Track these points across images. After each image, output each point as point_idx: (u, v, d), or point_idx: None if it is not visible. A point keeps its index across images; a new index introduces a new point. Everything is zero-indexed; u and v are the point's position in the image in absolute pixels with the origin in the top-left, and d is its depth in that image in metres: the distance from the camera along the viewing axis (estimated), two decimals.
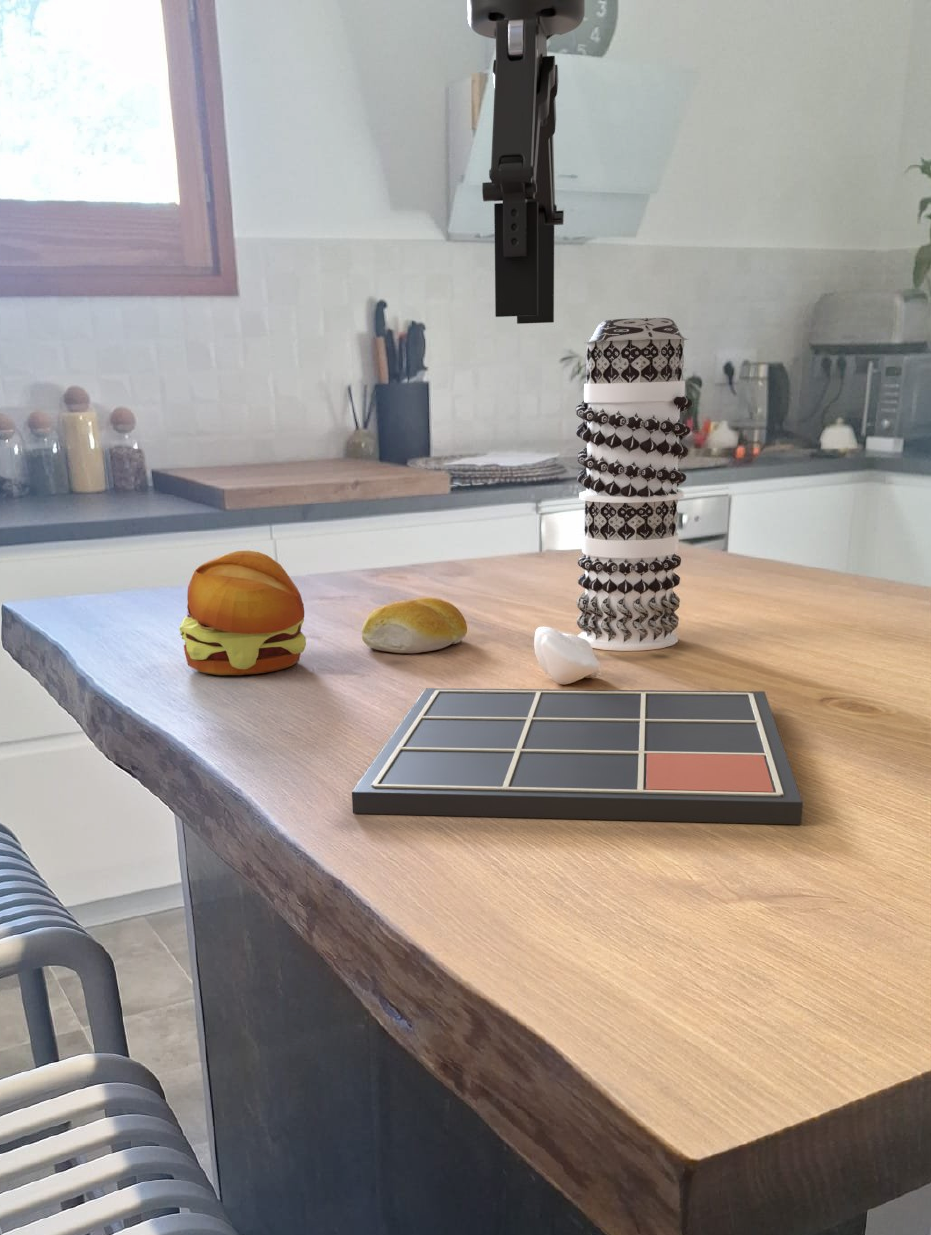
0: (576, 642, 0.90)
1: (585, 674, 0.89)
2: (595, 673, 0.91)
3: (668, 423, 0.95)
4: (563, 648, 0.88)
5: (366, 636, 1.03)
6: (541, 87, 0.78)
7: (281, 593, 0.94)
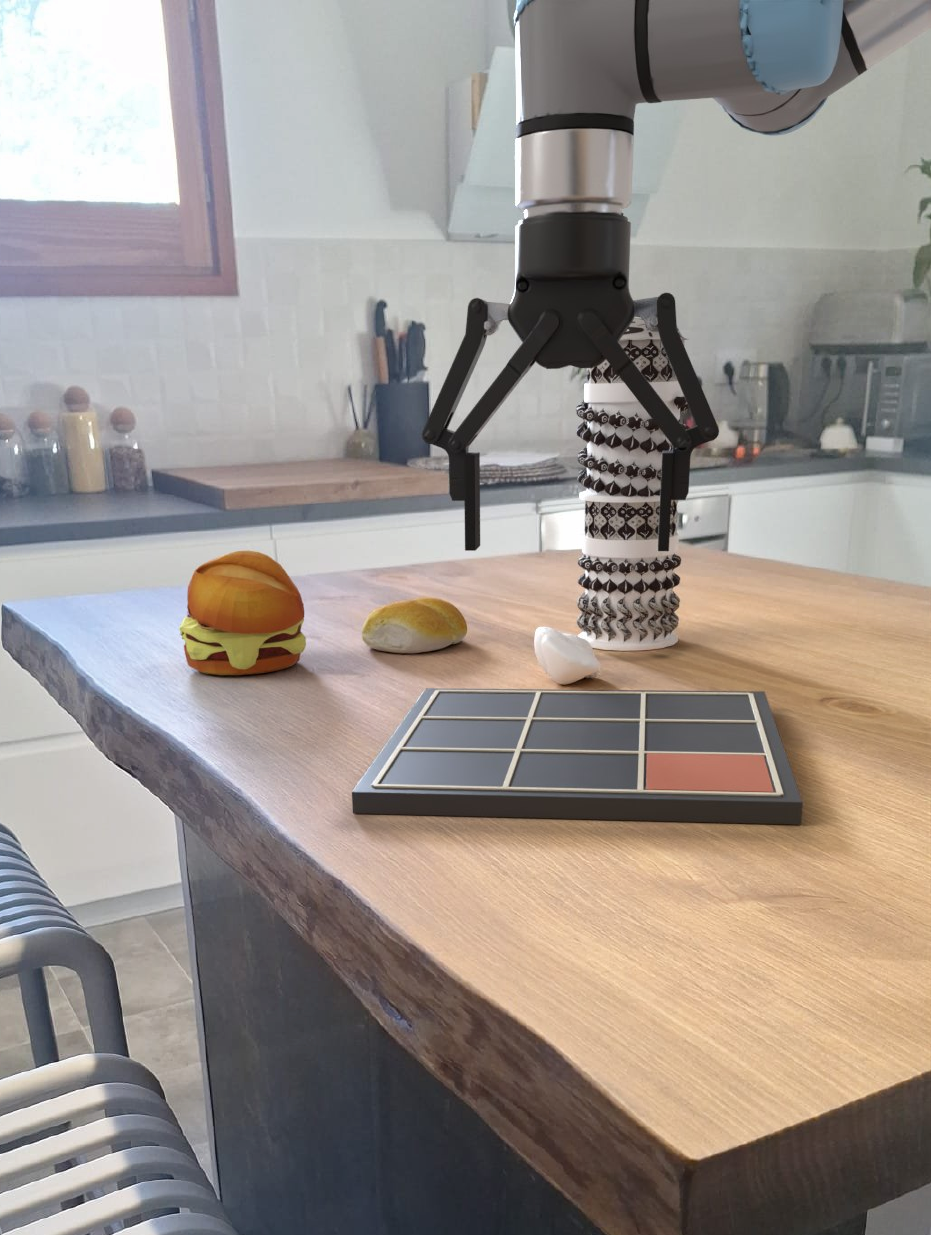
0: (576, 642, 0.90)
1: (585, 674, 0.89)
2: (595, 673, 0.91)
3: None
4: (563, 648, 0.88)
5: (366, 636, 1.03)
6: (520, 347, 0.83)
7: (281, 593, 0.94)
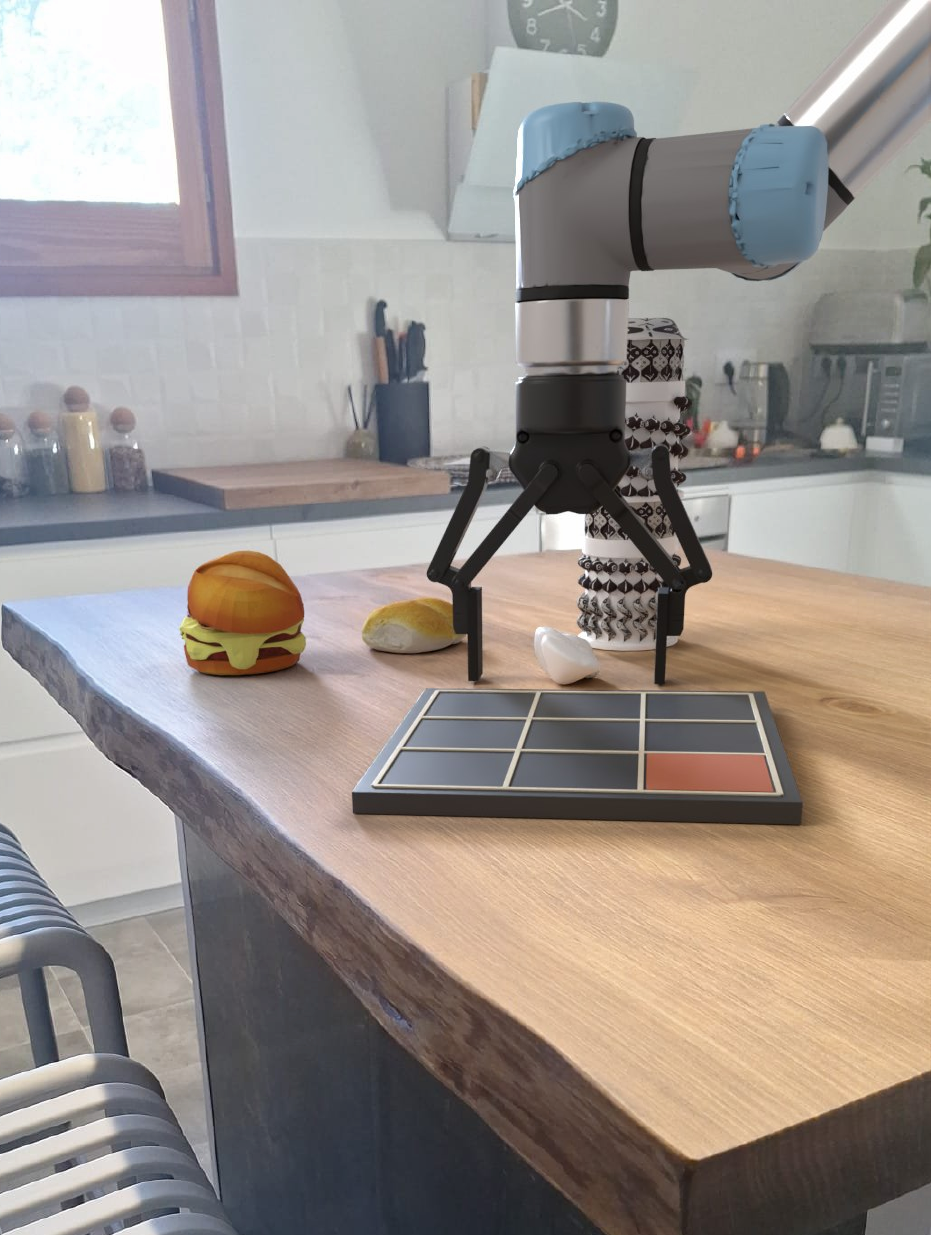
0: (576, 642, 0.90)
1: (585, 674, 0.89)
2: (595, 673, 0.91)
3: (668, 423, 0.95)
4: (563, 648, 0.88)
5: (366, 636, 1.03)
6: (520, 494, 0.86)
7: (281, 593, 0.94)
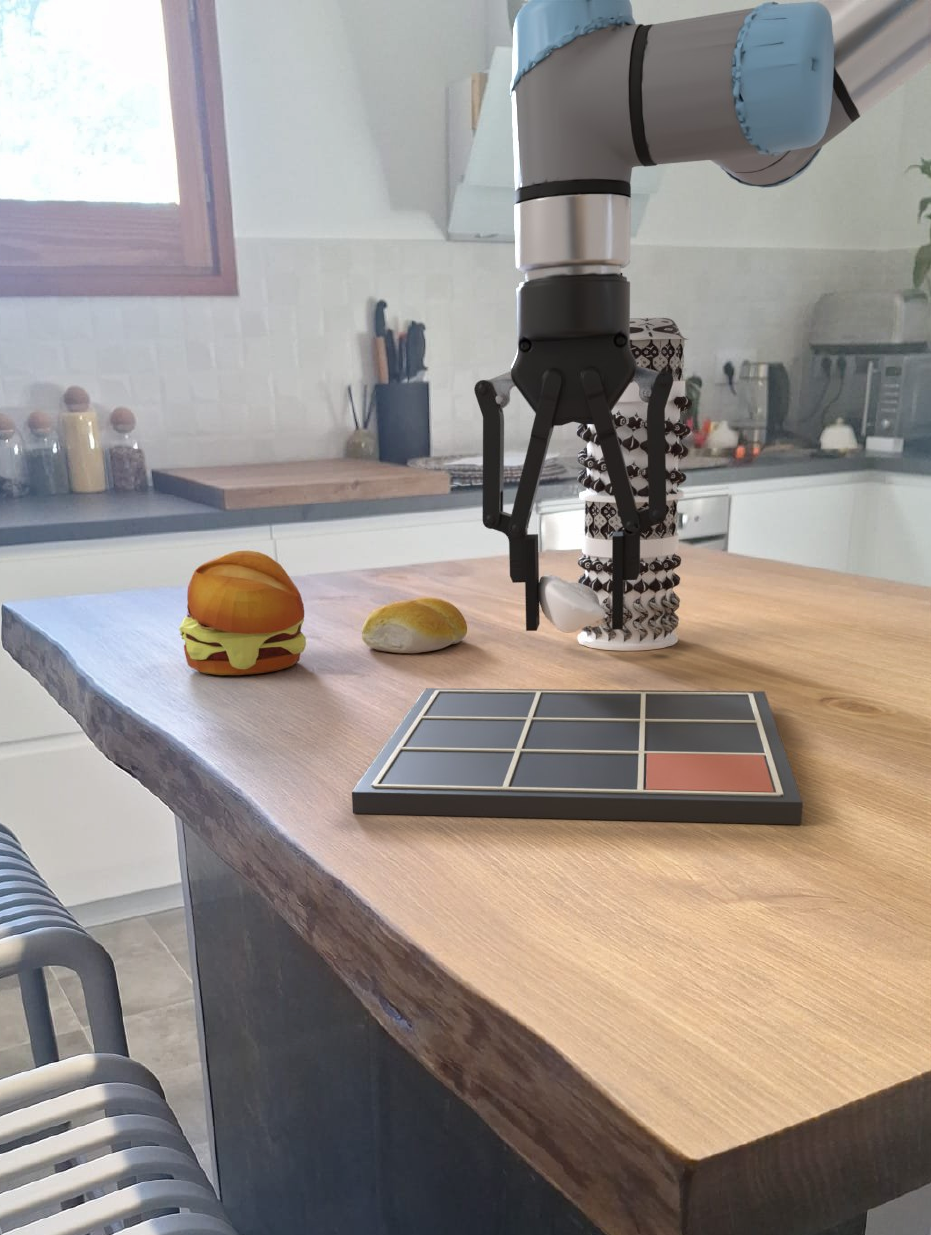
0: (580, 589, 0.88)
1: (590, 621, 0.87)
2: (600, 621, 0.90)
3: (668, 423, 0.95)
4: (567, 594, 0.87)
5: (366, 636, 1.03)
6: None
7: (281, 593, 0.94)
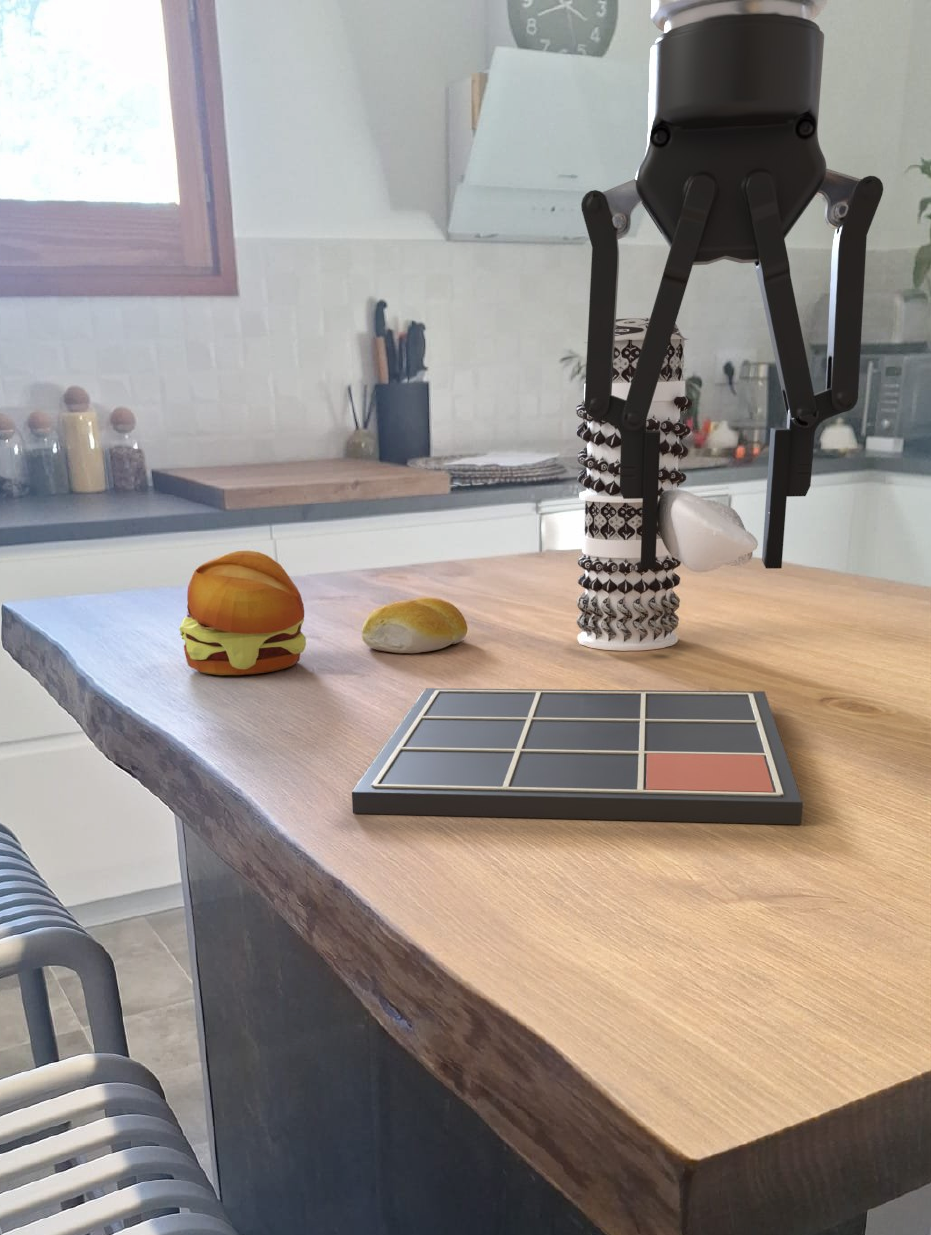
0: (722, 509, 0.61)
1: (736, 555, 0.60)
2: (746, 557, 0.63)
3: (668, 423, 0.95)
4: (705, 514, 0.60)
5: (366, 636, 1.03)
6: None
7: (281, 593, 0.94)
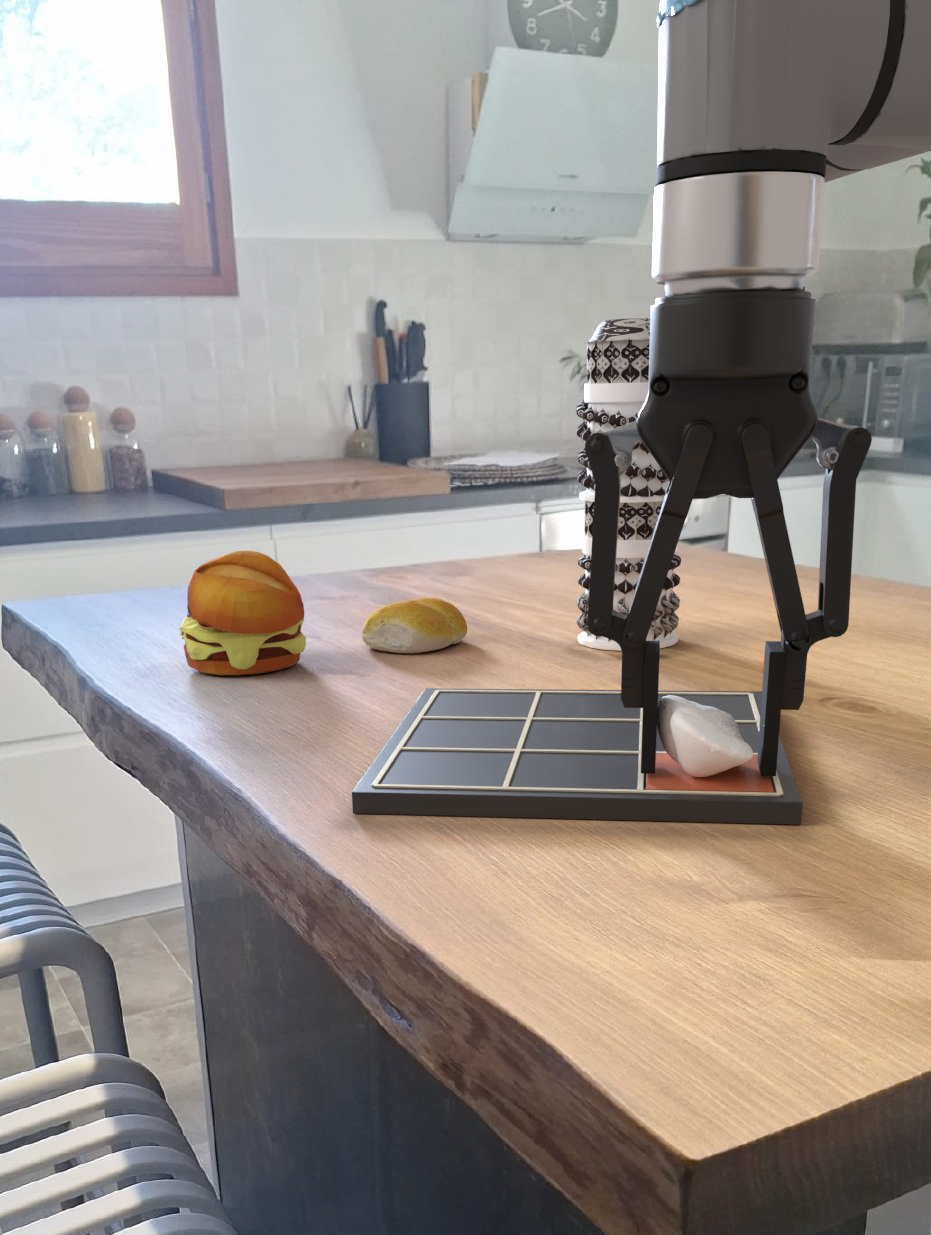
0: (718, 719, 0.64)
1: (733, 765, 0.63)
2: None
3: None
4: (703, 729, 0.63)
5: (366, 636, 1.03)
6: (670, 484, 0.60)
7: (281, 593, 0.94)
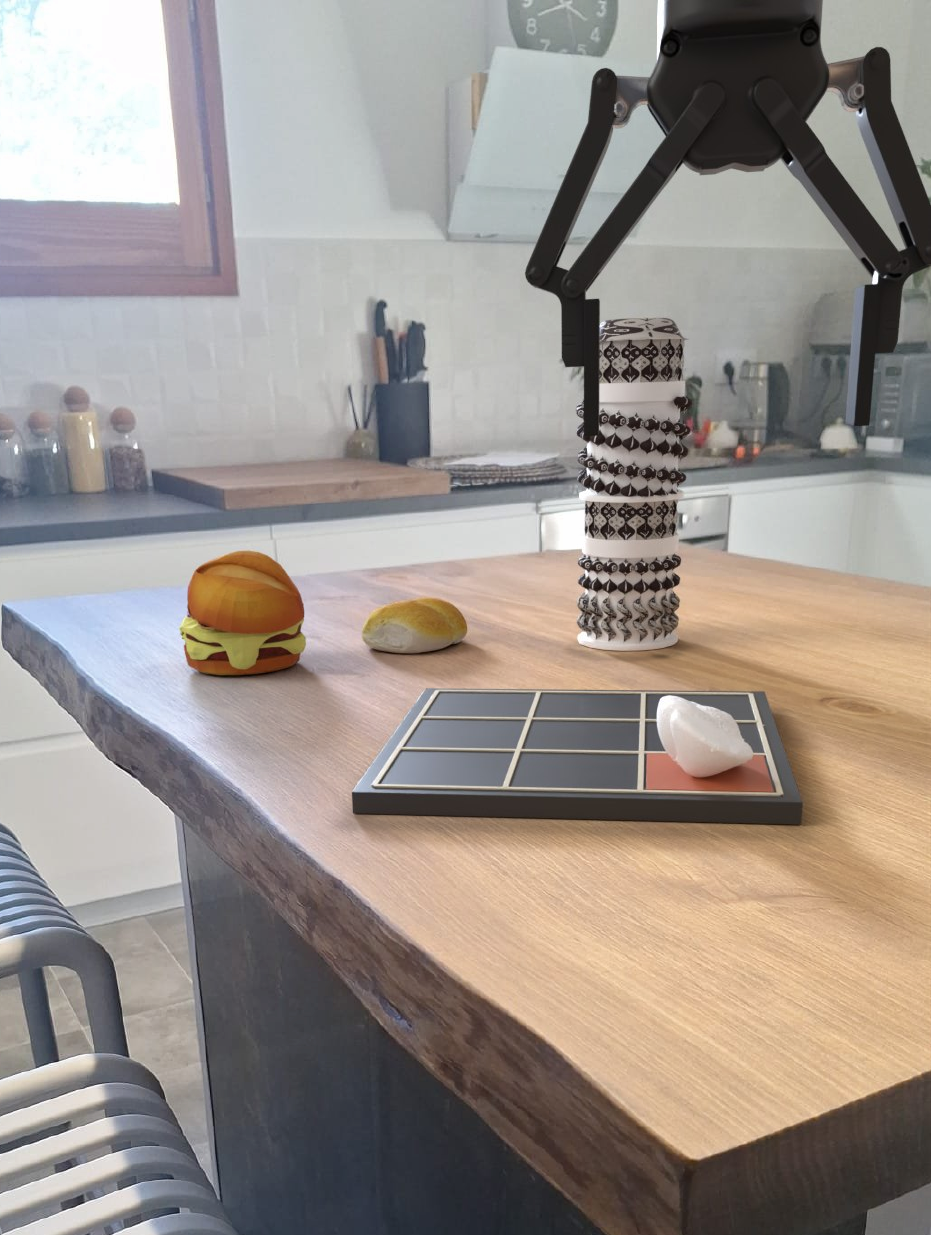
0: (718, 719, 0.64)
1: (733, 765, 0.63)
2: None
3: (668, 423, 0.95)
4: (703, 729, 0.63)
5: (366, 636, 1.03)
6: None
7: (281, 593, 0.94)
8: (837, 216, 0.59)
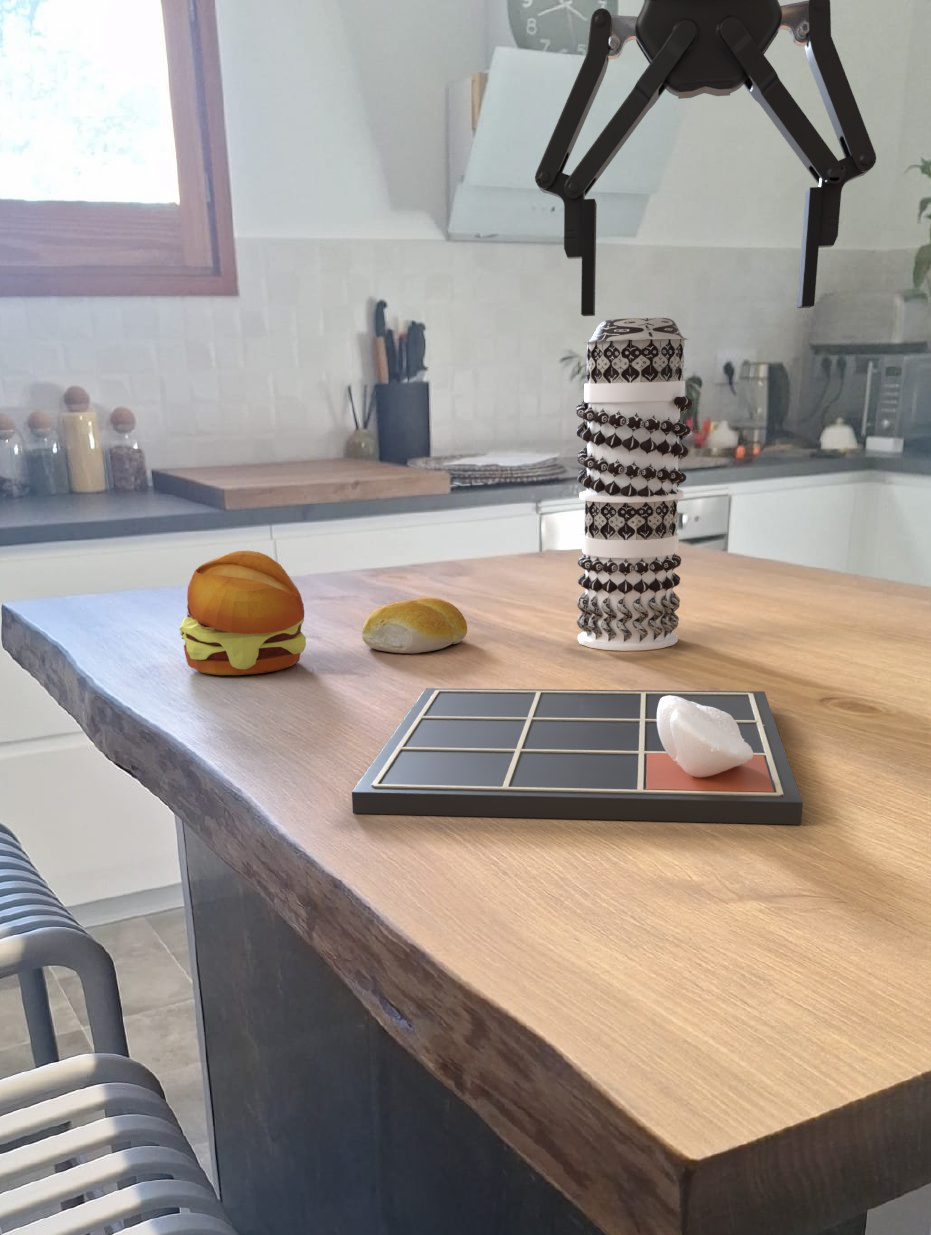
0: (718, 719, 0.64)
1: (733, 765, 0.63)
2: None
3: (668, 423, 0.95)
4: (703, 729, 0.63)
5: (367, 636, 1.03)
6: None
7: (281, 593, 0.94)
8: (788, 131, 0.73)
